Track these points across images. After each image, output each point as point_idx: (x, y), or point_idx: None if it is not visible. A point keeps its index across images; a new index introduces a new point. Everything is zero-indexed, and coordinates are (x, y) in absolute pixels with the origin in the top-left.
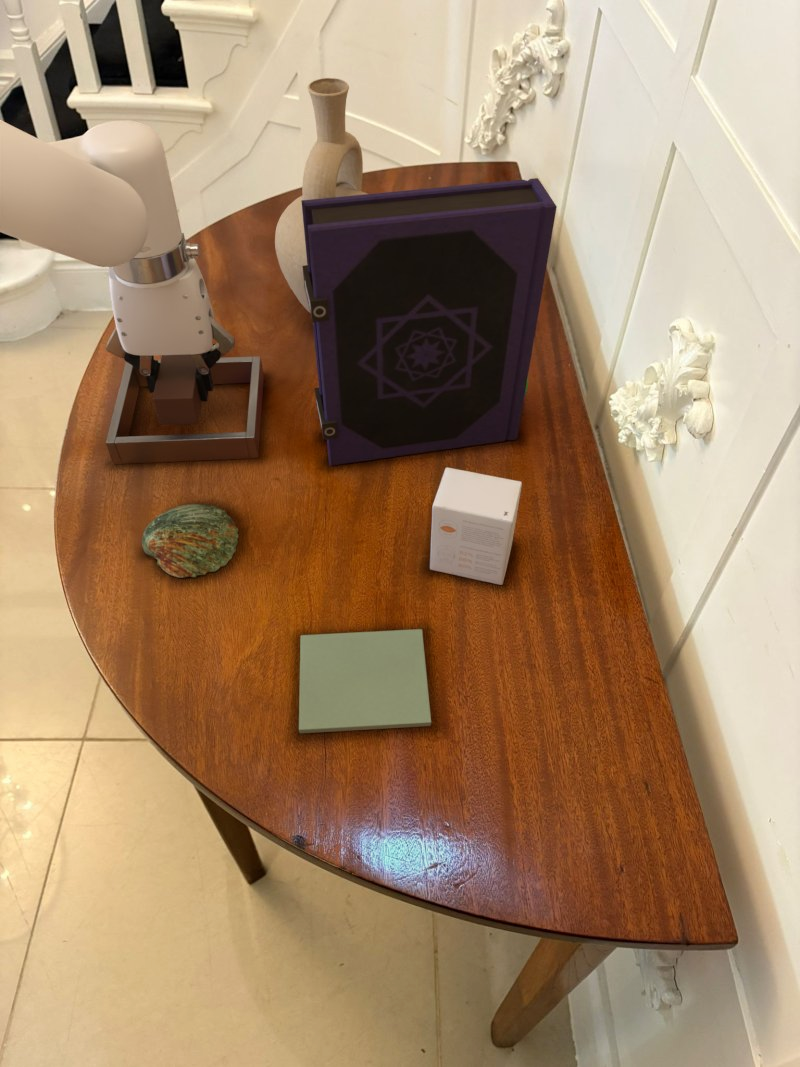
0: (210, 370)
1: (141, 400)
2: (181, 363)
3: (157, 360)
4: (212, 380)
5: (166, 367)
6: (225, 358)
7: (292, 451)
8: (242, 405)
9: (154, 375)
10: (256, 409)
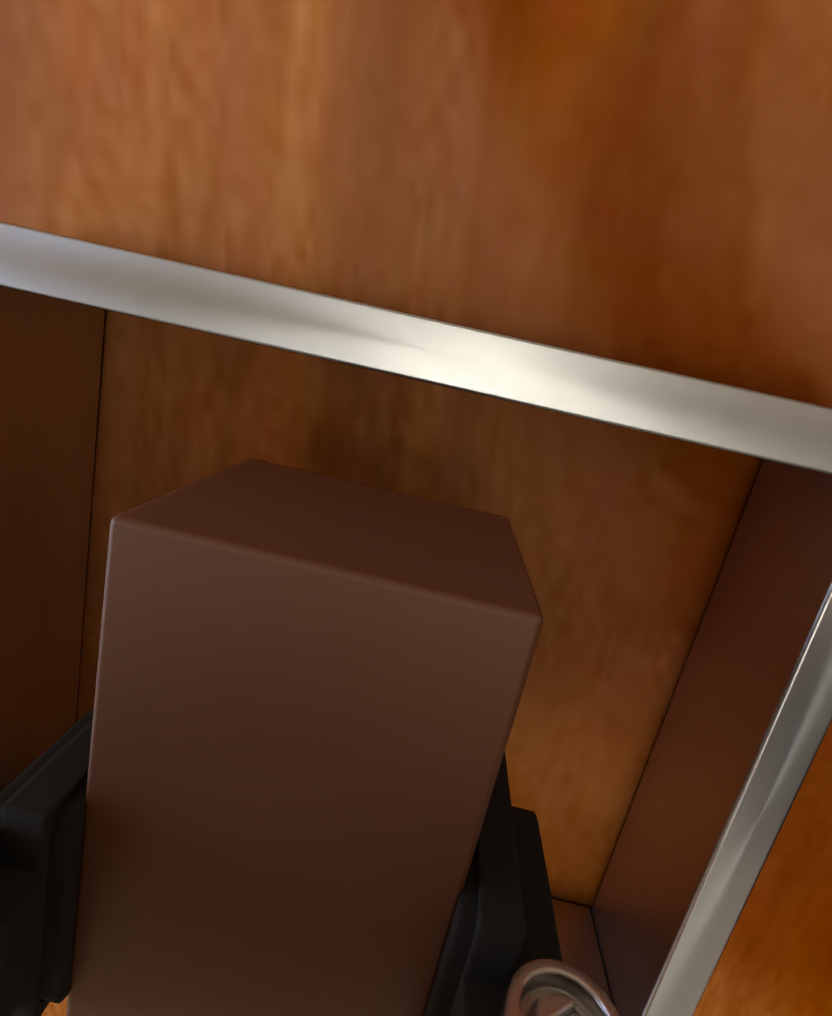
0: (553, 917)
1: (122, 422)
2: (294, 862)
3: (43, 816)
4: (537, 830)
5: (147, 882)
6: (678, 388)
7: (770, 949)
8: (635, 612)
9: (32, 1006)
10: (732, 927)
